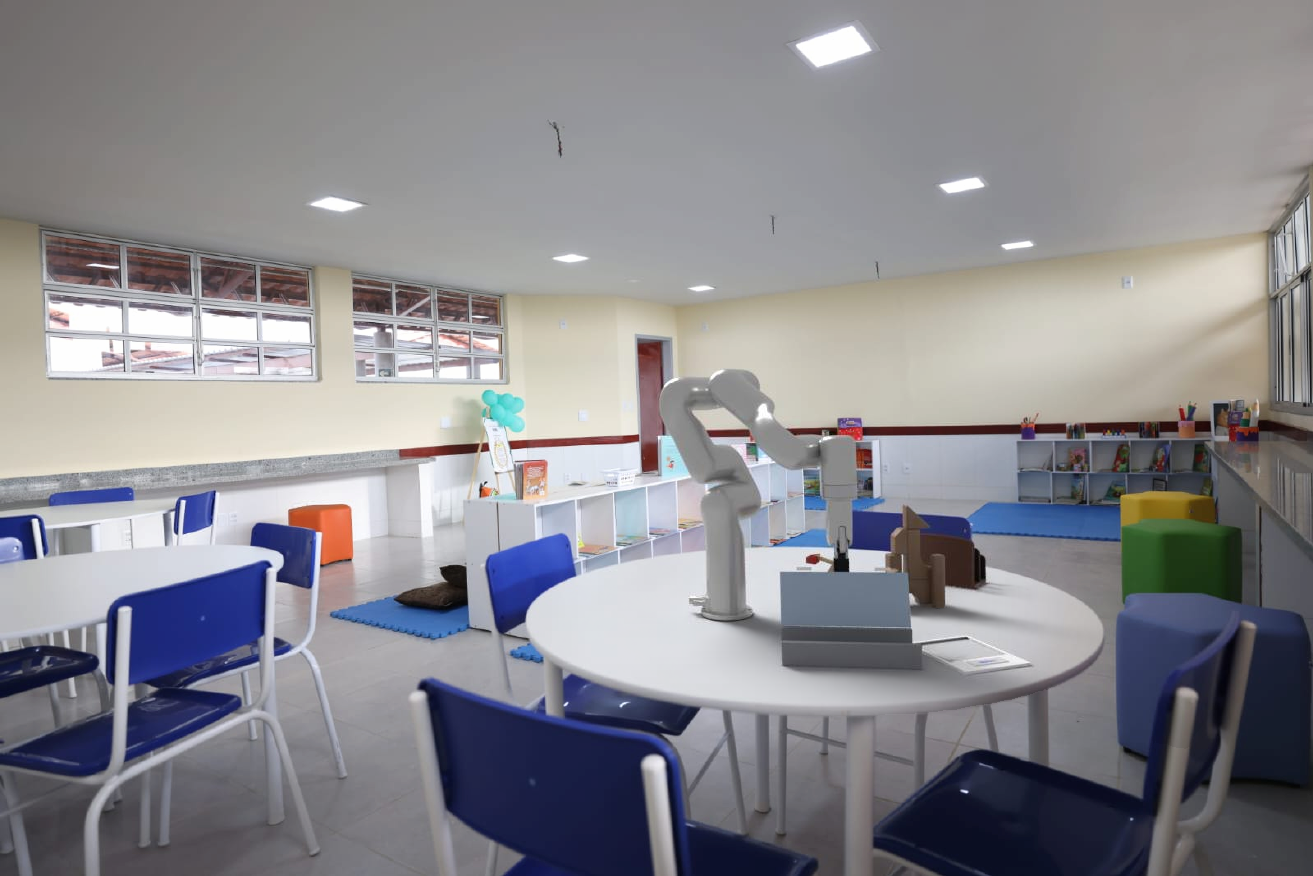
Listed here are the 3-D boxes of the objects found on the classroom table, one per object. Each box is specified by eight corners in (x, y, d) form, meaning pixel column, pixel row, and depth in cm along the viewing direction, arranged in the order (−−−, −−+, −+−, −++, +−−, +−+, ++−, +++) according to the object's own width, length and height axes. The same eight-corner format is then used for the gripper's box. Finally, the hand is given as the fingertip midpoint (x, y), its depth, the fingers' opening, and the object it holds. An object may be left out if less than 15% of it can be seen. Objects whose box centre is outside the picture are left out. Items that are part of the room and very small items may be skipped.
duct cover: (779, 567, 153) (779, 567, 155) (781, 625, 151) (781, 625, 153) (908, 567, 149) (906, 568, 151) (912, 628, 147) (910, 627, 149)
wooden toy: (886, 611, 176) (884, 508, 176) (875, 604, 183) (874, 505, 182) (947, 608, 178) (946, 506, 177) (935, 601, 184) (933, 502, 183)
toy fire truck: (855, 595, 192) (854, 559, 192) (806, 589, 199) (805, 554, 199) (859, 592, 195) (858, 556, 194) (810, 587, 202) (809, 552, 202)
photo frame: (965, 671, 134) (906, 642, 151) (965, 677, 134) (906, 647, 151) (1030, 661, 137) (966, 634, 155) (1031, 667, 138) (966, 639, 155)
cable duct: (782, 665, 141) (781, 642, 141) (781, 647, 152) (781, 625, 152) (922, 669, 137) (922, 645, 137) (911, 650, 148) (911, 628, 148)
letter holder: (974, 590, 194) (973, 538, 194) (902, 580, 208) (901, 531, 207) (986, 583, 202) (986, 532, 201) (916, 574, 215) (915, 526, 214)
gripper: (819, 489, 166) (821, 569, 166) (823, 496, 151) (826, 584, 151) (853, 488, 164) (855, 569, 165) (861, 495, 150) (863, 584, 150)
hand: (841, 576), depth 158 cm, fingers closed
